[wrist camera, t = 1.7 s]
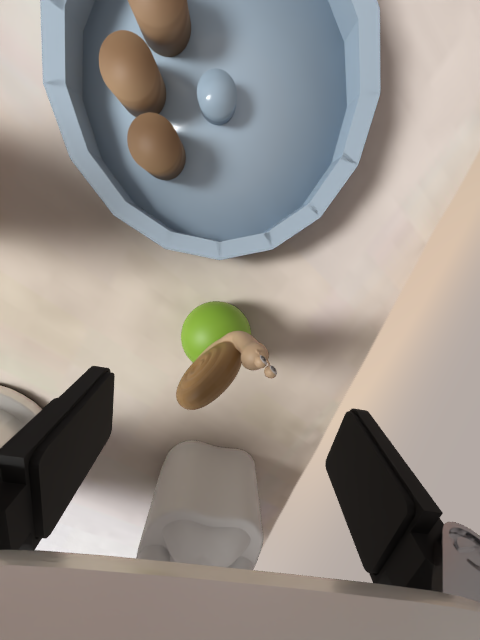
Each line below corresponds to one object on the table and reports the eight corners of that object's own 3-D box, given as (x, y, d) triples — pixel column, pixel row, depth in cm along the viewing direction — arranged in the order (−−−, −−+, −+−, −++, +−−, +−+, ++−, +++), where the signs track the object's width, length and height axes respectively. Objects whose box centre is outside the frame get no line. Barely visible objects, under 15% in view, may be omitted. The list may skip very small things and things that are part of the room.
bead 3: (182, 184, 18) (175, 177, 15) (139, 174, 18) (125, 165, 15) (188, 135, 17) (182, 119, 15) (143, 124, 17) (128, 106, 14)
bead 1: (187, 63, 16) (180, 33, 13) (138, 49, 15) (122, 16, 13) (194, -1, 15) (188, -45, 12) (142, -17, 14) (125, -66, 12)
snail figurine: (269, 318, 22) (310, 405, 11) (216, 362, 24) (205, 482, 12) (227, 273, 21) (226, 320, 10) (174, 322, 22) (117, 415, 11)
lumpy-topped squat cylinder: (264, 453, 28) (279, 547, 19) (231, 532, 31) (232, 637, 23) (170, 435, 26) (143, 526, 18) (147, 519, 30) (117, 626, 22)
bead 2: (163, 124, 17) (152, 106, 14) (116, 112, 16) (97, 92, 14) (168, 68, 16) (158, 39, 13) (119, 54, 15) (99, 22, 13)
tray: (310, 275, 21) (322, 281, 19) (72, 226, 19) (47, 224, 17) (401, -35, 15) (437, -91, 13) (71, -153, 13) (32, -248, 11)
